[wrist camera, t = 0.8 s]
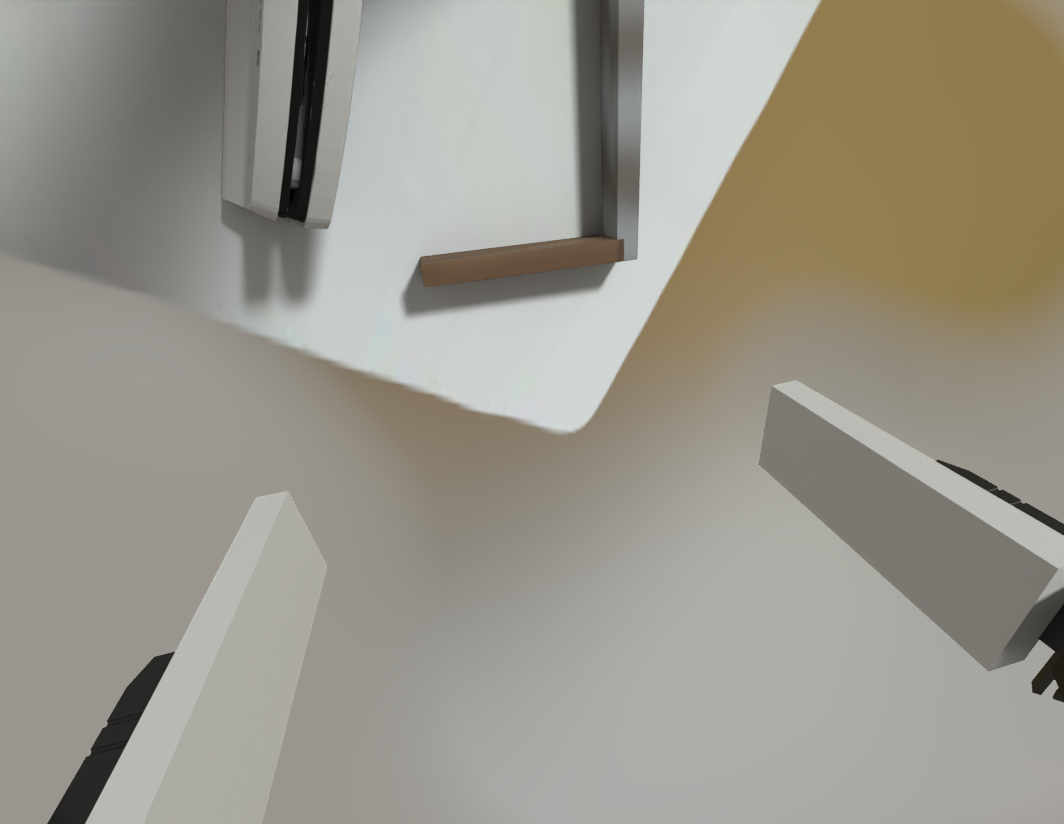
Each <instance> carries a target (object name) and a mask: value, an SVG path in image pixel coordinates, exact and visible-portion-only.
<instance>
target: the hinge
mask: <svg viewBox="0 0 1064 824" xmlns="http://www.w3.org/2000/svg"><path fill="white" fill-rule="evenodd" d="M362 4H363V0H227V18H226V53H225V88H224V123H223V158H222V193H221V196H222V199H224V200H227V201H229V202H232V203H234V204H237V205H239V206H241V207H244V208H246V209H248V210H249V211H252V212H254V213H256V214H259V215H261V216H264V217H266V218H269V219H271V220H274V221H276V220H277V216H278V217H282V218H286V217H287V218H289V222H291V223H293V224H296V225H298V226H300V227H303V228H320V229H327V228H328V227H329V225H330V221H331V217H332V212H333V207H334V202H335V197H336V192H337V186H338V181H339V176H340V170H341V164H342V158H343V151H344V145H345V139H346V133H347V127H348V120H349V113H350V105H351V98H352V91H353V83H354V76H355V68H356V60H357V52H358V43H359V34H360V24H361V14H362ZM306 36H307V38H308V43H309V48H308V59H307V69H306V80H305V91H304V100H303V102H302V104H301V106H300V100H301V90H302V80H303V69H304V58H305V47H306Z"/></svg>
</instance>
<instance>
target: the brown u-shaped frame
mask: <svg viewBox="0 0 1064 824" xmlns="http://www.w3.org/2000/svg"><path fill="white" fill-rule="evenodd" d="M643 27H644V0H601V100H602V209H603V234H602V235H594V236H586V237H578V238H570V239H562V240H554V241H546V242H538V243H529V244H521V245H513V246H505V247H497V248H489V249H481V250H473V251H465V252H457V253H448V254H440V255H432V256H424V257H421V260H420V267H421V272H422V276H423V281H424V286H425V287H432V286H440V285H447V284H455V283H462V282H470V281H477V280H485V279H492V278H500V277H507V276H515V275H523V274H530V273H538V272H545V271H553V270H560V269H568V268H575V267H583V266H590V265H598V264H605V263H613V262H620V261H628V260H635V259H637V252H638V214H639V177H640V139H641V102H642V65H643Z"/></svg>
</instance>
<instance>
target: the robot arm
mask: <svg viewBox="0 0 1064 824" xmlns="http://www.w3.org/2000/svg"><path fill="white" fill-rule="evenodd" d="M759 465H760V466H761V467H762V468H764V469H765V470H766V471H767V472H768V473H769V474H770V475H771V476H772V477H773V478H775V479H776V480H777V481H778V482H779V483H780V484H781V485H782V486H783V487H785V488H786V489H787V490H788V491H789V492H790V493H791V494H792V495H793V496H795V497H796V498H797V499H798V500H799V501H800V502H801V503H802V504H803V505H805V506H806V507H807V508H808V509H809V510H810V511H811V512H812V513H814V514H815V515H816V516H817V517H818V518H819V519H820V520H821V521H822V522H824V523H825V524H826V525H827V526H828V527H829V528H830V529H831V530H832V531H833V532H835V533H836V534H837V535H838V536H839V537H840V538H841V539H842V540H843V541H845V542H846V543H847V544H848V545H849V546H850V547H851V548H852V549H853V550H854V551H856V552H857V553H858V554H859V555H860V556H862V558H863V559H864V560H866V561H867V562H868V563H869V564H870V565H871V566H872V567H874V569H876V570H877V571H878V572H879V573H880V574H881V575H882V576H883V577H884V578H886V579H887V580H888V581H889V582H890V583H891V584H892V585H893V586H895V587H896V588H897V589H898V590H899V591H900V592H901V593H902V594H903V595H904V596H906V597H907V598H908V599H909V600H910V601H911V602H912V603H913V604H914V605H916V606H917V607H918V608H919V609H920V610H921V611H922V612H923V613H925V614H926V615H927V616H928V617H929V618H930V619H931V620H932V621H933V622H934V623H935V624H937V625H938V626H939V627H940V628H941V629H942V630H943V631H944V632H946V633H947V634H948V635H949V636H950V637H951V638H952V639H953V640H954V641H955V642H957V643H958V644H959V645H960V646H961V647H962V648H963V649H964V650H966V651H967V652H968V653H969V654H970V655H971V656H972V657H973V658H974V659H975V660H977V661H978V662H979V663H980V664H981V665H982V666H983V667H984V668H985V669H987V670H988V671H991V670H994V669H997V668H1000V667H1003V666H1006V665H1010V664H1013V663H1016V662H1019V661H1022V660H1024V659H1025V658H1026V657H1027V655H1028V654H1029V652H1030V651H1031V650H1032V648H1033V647H1034V646H1035V644H1036V643H1037V642H1038V640H1039V639H1040V640H1041V641H1042V642H1044V643H1045V644H1046V645H1047V646H1049V647H1050V648H1051V649H1053V650H1054V651H1055V653H1054V654H1053V655H1052V657H1051V658H1050V659H1049V660H1048V662H1047V663H1046V664H1045V666H1044V667H1043V668H1042V669H1041V671H1040V672H1039V673H1038V674H1037V676H1036V677H1035V678H1034V679H1033V681H1032V692H1033V693H1036V694H1039V695H1041V694H1042V693H1043V692H1044V691H1045V689H1046V688H1047V687H1048V686H1049V685H1050V683H1051V682H1052V681H1053V680H1056V682H1057V684H1058V687H1059V688H1058V689H1057V690H1056V692H1055V694H1054V695H1053V698H1054V699H1055V700H1058V701H1062V702H1064V524H1063V523H1061V522H1059V521H1058V520H1056V519H1054V518H1052V517H1050V516H1048V515H1047V514H1045V513H1043V512H1042V511H1040V510H1038V509H1036V508H1034V507H1033V506H1031V505H1029V504H1027V503H1025V504H1023V503H1021V501H1020V499H1018V498H1017V497H1015V496H1013V495H1011V494H1010V493H1008V492H1006V491H1004V490H998V488H997V486H995V485H993V484H992V483H990V482H988V481H986V480H985V479H983V478H981V477H979V476H978V475H976V474H974V473H972V472H970V471H968V470H965V469H962V468H960V467H956V466H954V465H951V464H948V463H946V462H943V461H940V460H937V461H934V460H933V459H931V458H929V457H928V456H926V455H924V454H922V453H921V452H919V451H917V450H915V449H913V448H912V447H910V446H909V445H907V444H905V443H903V442H901V441H900V440H898V439H897V438H895V437H893V436H891V435H889V434H888V433H886V432H884V431H883V430H881V429H879V428H878V427H876V426H874V425H872V424H870V423H869V422H867V421H865V420H864V419H862V418H860V417H859V416H857V415H855V414H853V413H852V412H850V411H848V410H846V409H845V408H843V407H841V406H840V405H838V404H836V403H835V402H833V401H831V400H829V399H828V398H826V397H824V396H822V395H821V394H819V393H817V392H816V391H814V390H812V389H810V388H809V387H807V386H805V385H803V384H802V383H800V382H798V381H791V382H787V383H782V384H777V385H773V386H772V387H771V393H770V399H769V405H768V412H767V417H766V423H765V430H764V435H763V442H762V448H761V454H760V461H759ZM326 570H327V565H326V563H325V561H324V559H323V557H322V555H321V554H320V552H319V550H318V548H317V546H316V544H315V542H314V540H313V538H312V536H311V534H310V533H309V530H308V528H307V526H306V524H305V522H304V520H303V519H302V517H301V515H300V513H299V511H298V509H297V507H296V505H295V503H294V501H293V499H292V497H291V495H290V493H289V491H284V492H280V493H276V494H271V495H266V496H262V497H257V498H256V499H255V500H254V502H253V504H252V506H251V508H250V510H249V512H248V514H247V516H246V518H245V520H244V522H243V523H242V525H241V527H240V529H239V531H238V533H237V535H236V537H235V539H234V541H233V542H232V545H231V546H230V548H229V550H228V552H227V554H226V556H225V558H224V560H223V562H222V564H221V566H220V567H219V569H218V571H217V573H216V575H215V577H214V579H213V581H212V583H211V585H210V586H209V589H208V590H207V592H206V594H205V596H204V598H203V600H202V602H201V604H200V606H199V607H198V609H197V611H196V613H195V615H194V617H193V619H192V621H191V623H190V625H189V627H188V629H187V631H186V632H185V634H184V636H183V638H182V640H181V642H180V644H179V646H178V648H177V649H176V651H175V652H172V653H168V654H164V655H160V656H156V657H154V658H153V659H152V660H151V661H150V663H149V664H148V665H147V666H146V667H145V668H144V669H143V670H142V671H141V672H140V673H139V674H138V676H137V677H136V678H135V679H134V680H133V681H132V682H131V683H130V684H129V686H128V687H127V688H126V689H125V691H124V693H123V695H122V696H121V698H120V700H119V702H118V703H117V705H116V707H115V708H114V710H113V712H112V714H111V715H110V717H109V719H108V720H107V722H108V725H107V727H105V728H103V729H102V731H101V732H100V734H99V736H98V738H97V739H96V741H95V743H94V745H93V746H92V748H91V755H90V756H88V757H86V758H85V760H84V762H83V763H82V765H81V767H80V769H79V770H78V772H77V774H76V776H75V777H74V779H73V781H72V782H71V784H70V786H69V787H68V789H67V791H66V793H65V795H64V796H63V798H62V800H61V801H60V803H59V805H58V807H57V808H56V810H55V812H54V814H53V815H52V817H51V819H50V820H49V822H48V824H262V822H263V818H264V814H265V810H266V806H267V802H268V798H269V794H270V790H271V786H272V783H273V779H274V775H275V771H276V767H277V763H278V759H279V755H280V751H281V747H282V743H283V739H284V736H285V732H286V728H287V724H288V720H289V716H290V712H291V708H292V704H293V700H294V696H295V692H296V688H297V684H298V680H299V677H300V673H301V669H302V665H303V661H304V657H305V653H306V649H307V645H308V641H309V637H310V633H311V629H312V625H313V621H314V617H315V613H316V610H317V605H318V602H319V598H320V594H321V590H322V586H323V582H324V578H325V574H326Z"/></svg>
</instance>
